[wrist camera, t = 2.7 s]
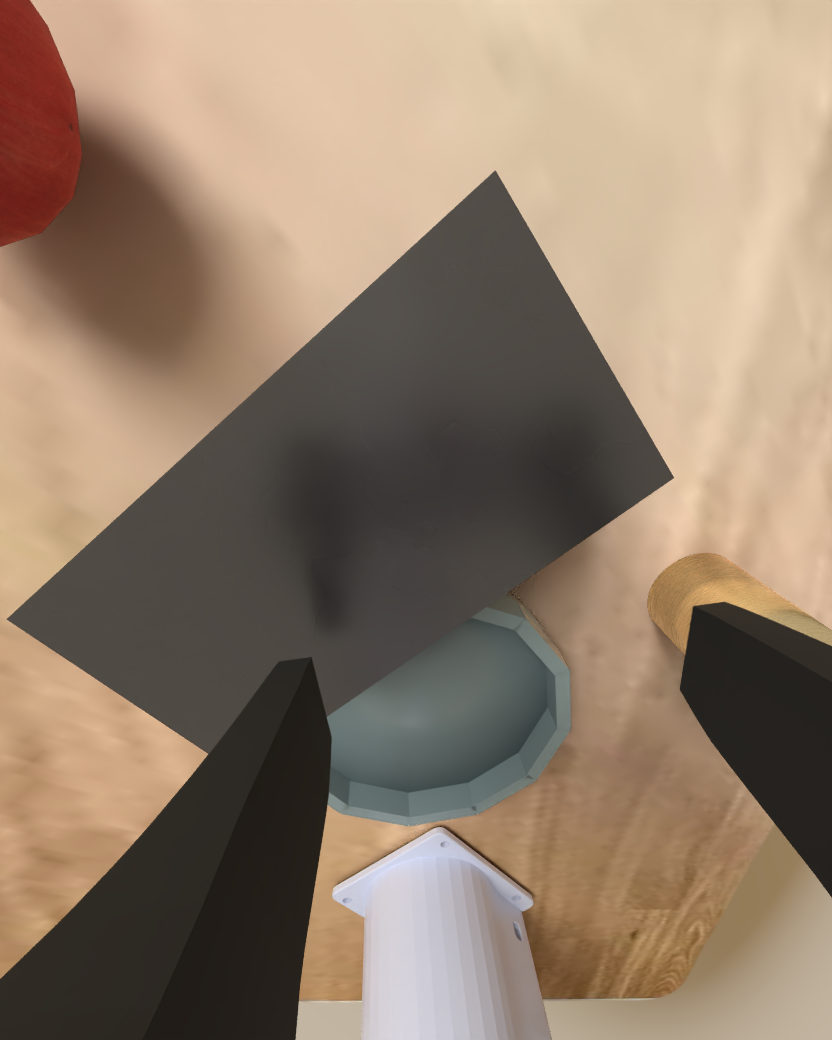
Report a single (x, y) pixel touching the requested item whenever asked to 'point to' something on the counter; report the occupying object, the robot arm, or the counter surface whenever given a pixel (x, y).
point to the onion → (34, 125)
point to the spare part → (719, 597)
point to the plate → (454, 723)
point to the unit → (363, 489)
